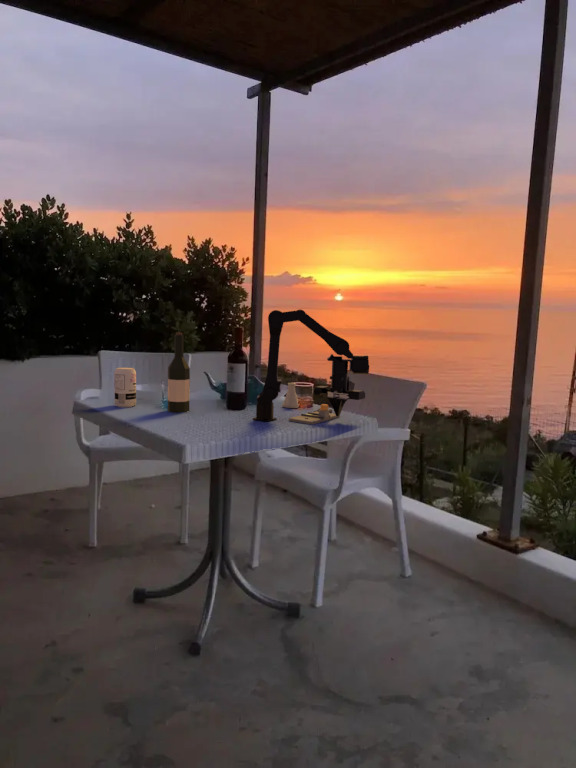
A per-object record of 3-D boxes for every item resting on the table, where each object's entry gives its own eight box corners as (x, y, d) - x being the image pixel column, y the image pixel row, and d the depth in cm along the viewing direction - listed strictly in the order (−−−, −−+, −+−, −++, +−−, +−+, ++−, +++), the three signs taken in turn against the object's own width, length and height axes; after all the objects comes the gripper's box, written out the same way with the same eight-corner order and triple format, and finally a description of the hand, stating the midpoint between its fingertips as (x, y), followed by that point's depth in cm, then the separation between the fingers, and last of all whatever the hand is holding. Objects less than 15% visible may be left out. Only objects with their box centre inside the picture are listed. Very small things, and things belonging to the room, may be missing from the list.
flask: (292, 409, 241) (293, 384, 239) (278, 407, 245) (279, 383, 244) (303, 407, 246) (304, 383, 245) (289, 405, 251) (289, 381, 249)
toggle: (324, 417, 217) (325, 405, 217) (318, 416, 219) (319, 404, 218) (329, 416, 220) (329, 404, 219) (323, 415, 221) (323, 403, 221)
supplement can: (114, 404, 239) (114, 367, 237) (135, 404, 241) (135, 367, 239) (114, 407, 231) (114, 369, 229) (136, 407, 234) (136, 369, 232)
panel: (312, 424, 210) (312, 420, 210) (288, 421, 215) (289, 416, 215) (339, 416, 227) (339, 412, 226) (316, 413, 232) (317, 409, 232)
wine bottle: (187, 413, 224) (188, 333, 221) (165, 412, 225) (165, 333, 221) (191, 409, 233) (192, 332, 229) (170, 408, 233) (170, 332, 229)
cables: (321, 415, 229) (321, 409, 229) (312, 413, 231) (312, 408, 231) (332, 412, 237) (333, 406, 237) (324, 410, 239) (324, 405, 239)
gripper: (372, 374, 216) (370, 416, 218) (328, 369, 226) (326, 410, 228) (359, 376, 206) (356, 420, 208) (313, 371, 217) (311, 414, 219)
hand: (337, 416), depth 216 cm, fingers closed
